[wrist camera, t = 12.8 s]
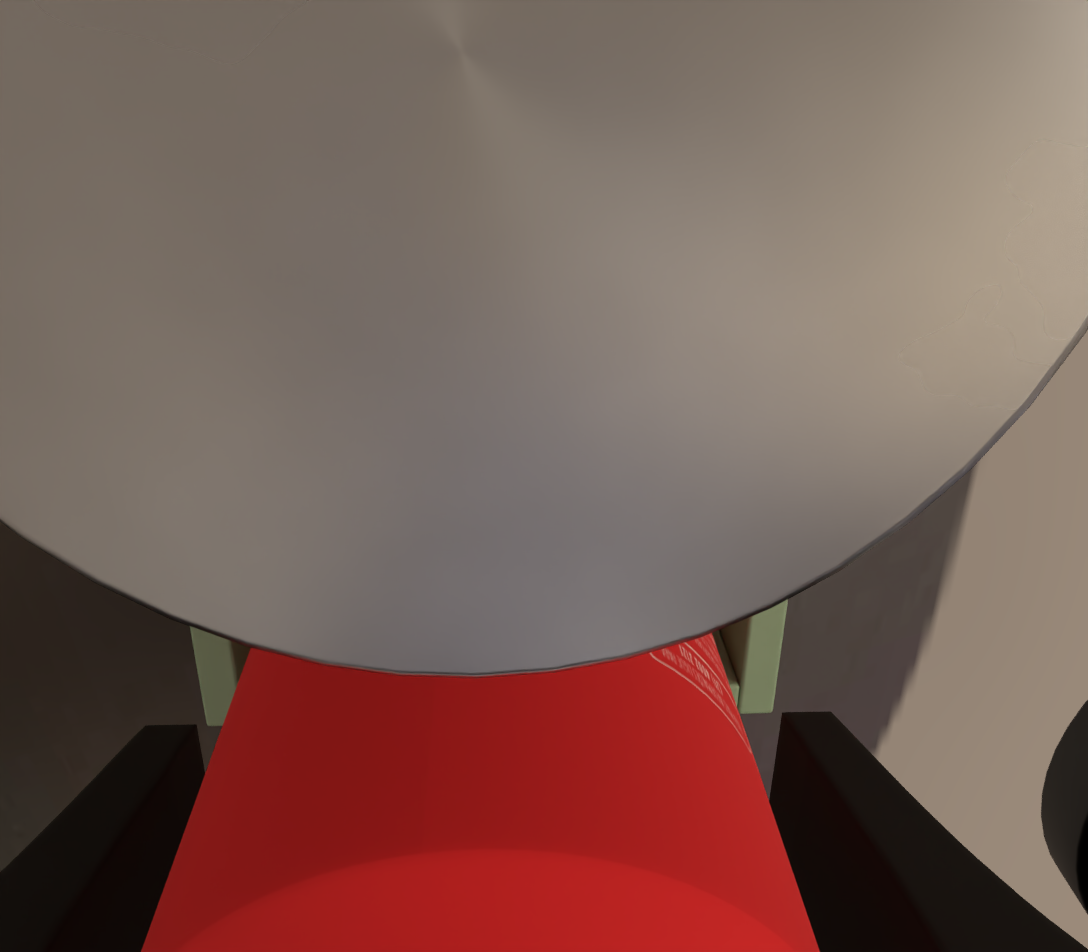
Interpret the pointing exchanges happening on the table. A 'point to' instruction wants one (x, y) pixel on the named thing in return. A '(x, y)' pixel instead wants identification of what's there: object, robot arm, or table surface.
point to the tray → (740, 645)
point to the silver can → (519, 304)
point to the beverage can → (483, 816)
